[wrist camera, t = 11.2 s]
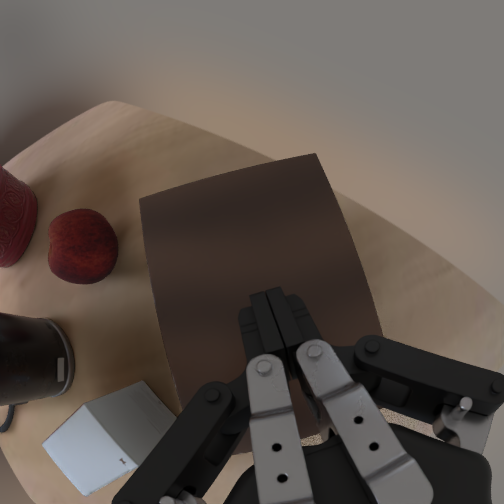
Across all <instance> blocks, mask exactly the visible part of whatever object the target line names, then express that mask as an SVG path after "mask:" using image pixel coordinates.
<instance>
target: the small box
mask: <svg viewBox="0 0 504 504" xmlns="http://www.w3.org/2000/svg"><path fill="white" fill-rule="evenodd" d="M176 419H177V417H176V416H175V415H174V414H173V413H172V412H171V411H170V410H169V409H168V408H167V407H166V406H165V405H164V404H163V403H162V402H161V400H160V399H159V398H158V397H157V396H156V395H155V394H154V392H153V391H152V390H151V389H150V388H149V387H148V385H147V384H146V383H145V382H144V381H143V380H142V381H140V382H137V383H135V384H132V385H130V386H127V387H125V388H123V389H120V390H117V391H115V392H113V393H110V394H107V395H105V396H102V397H100V398H97V399H94V400H91V401H89V402H86V403H83V404H82V405H81V406H80V407H79V408H78V409H77V410H76V411H75V412H74V413H73V414H72V415H71V416H70V417H69V418H68V419H67V420H66V421H65V422H64V423H63V424H62V425H61V426H60V427H58V428H57V429H56V430H55V431H54V432H53V433H52V434H51V435H50V436H49V437H48V438H47V439H46V440H45V441H44V442H43V443H42V445H43V447H44V448H45V450H46V451H47V453H48V454H49V455H50V457H51V458H52V459H53V460H54V462H55V463H56V464H57V466H58V467H59V468H60V469H61V470H62V472H63V473H64V474H65V475H66V476H67V478H68V479H69V480H70V481H71V482H72V483H73V484H74V486H75V487H76V488H77V489H78V490H79V491H80V492H81V493H82V494H83V495H84V496H86V497H87V496H89V495H90V494H92V493H93V492H95V491H97V490H98V489H100V488H102V487H104V486H105V485H107V484H109V483H111V482H112V481H114V480H116V479H118V478H119V477H121V476H123V475H124V474H126V473H128V472H130V471H132V470H134V469H136V468H138V467H139V466H140V465H141V464H142V462H143V461H144V460H145V459H146V457H147V456H148V455H149V454H150V452H151V451H152V450H153V449H154V447H155V446H156V445H157V444H158V442H159V441H160V440H161V438H162V437H163V436H164V435H165V433H166V432H167V431H168V429H169V428H170V427H171V425H172V424H173V423H174V422H175V420H176Z"/></svg>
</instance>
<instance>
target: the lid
mask: <svg viewBox="0 0 504 504" xmlns="http://www.w3.org/2000/svg"><path fill="white" fill-rule="evenodd" d="M139 203H140V213H141V221H142V230H143V237H144V244H145V251H146V258H147V264H148V270H149V276H150V281H151V287H152V292H153V297H154V302H155V307H156V312H157V317H158V321H159V326H160V330H161V334H162V338H163V342H164V346H165V350H166V354H167V358H168V362H169V366H170V369H171V373H172V376H173V380H174V383H175V387H176V390H177V393H178V396H179V400H180V403H181V406H182V409H183V410H184V408H185V407H186V406H187V404H188V403H189V402H190V400H191V399H192V398H193V396H194V395H195V394H196V392H197V391H198V390H199V388H200V387H202V386H203V385H204V384H206V383H209V382H213V381H219V382H223V383H225V384H227V383H229V382H231V381H233V380H235V379H236V378H238V377H239V376H240V375H241V374H242V373H243V372H244V370H245V368H246V365H247V359H246V355H245V350H244V346H243V341H242V336H241V331H240V327H239V322H238V315H239V312H240V309H242V308H245V307H249V306H252V305H251V301H250V298H249V295H251V294H254V293H258V292H262V291H264V292H265V290H268V289H272V288H275V287H279V286H280V287H281V288H282V291H283V293H284V295H285V296H288V295H291V294H296V295H297V296H299V297H300V298H301V299H302V300H303V302H304V303H305V305H306V308H307V309H308V311H309V313H310V315H311V317H312V319H313V321H314V323H315V325H316V327H317V328H318V330H319V332H320V334H321V336H322V338H323V339H324V340H325V341H326V342H327V343H329V344H331V345H334V346H353V345H355V344H356V342H357V341H358V340H359V339H360V338H362V337H364V336H366V335H378V336H381V337H383V334H382V330H381V326H380V323H379V319H378V316H377V312H376V309H375V306H374V302H373V299H372V296H371V292H370V289H369V286H368V283H367V280H366V277H365V274H364V271H363V268H362V265H361V262H360V259H359V257H358V254H357V251H356V248H355V246H354V243H353V240H352V238H351V235H350V232H349V230H348V227H347V224H346V222H345V219H344V217H343V214H342V212H341V209H340V207H339V205H338V202H337V200H336V197H335V195H334V193H333V190H332V188H331V186H330V184H329V181H328V179H327V177H326V175H325V173H324V170H323V168H322V166H321V164H320V162H319V159H318V157H317V155H316V154H315V153H313V154H308V155H303V156H298V157H293V158H288V159H283V160H278V161H274V162H269V163H265V164H260V165H256V166H252V167H248V168H243V169H239V170H235V171H232V172H228V173H224V174H220V175H216V176H213V177H209V178H205V179H202V180H198V181H195V182H191V183H188V184H185V185H181V186H178V187H175V188H171V189H168V190H165V191H162V192H159V193H156V194H152V195H149V196H146V197H143V198H141V199H139ZM265 295H266V294H265ZM289 373H290V371H289ZM290 378H291V381H288V382H289V387H290V392H291V402H292V406H293V410H294V414H295V419H296V423H297V427H298V432H299V436H300V439H303V438H306V437H310V436H313V435H316V434H319V433H320V432H319V429H318V426H317V424H316V422H315V420H314V418H313V416H312V414H311V411H310V409H309V407H308V405H307V403H306V401H305V399H304V397H303V395H302V391H301V386H300V383H299V380H298V379H295V380H292V377H291V374H290ZM376 406H377V407H378V409H381V408H384V407H381V406H379V405H376ZM247 452H252V443H251V435H250V427H248V429H247V431H246V433H245V434H244V436H243V438H242V439H241V441H240V443H239V444H238V446H237V447H236V449H235V450H234V452H233V454H232V455H236V454H241V453H247Z"/></svg>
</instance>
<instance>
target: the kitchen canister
mask: <svg viewBox="0 0 504 504" xmlns="http://www.w3.org/2000/svg"><path fill="white" fill-rule="evenodd" d="M36 217H37V200H36V197H35V194H34V193H33V191H32V190H31V189H30V187H29V186H28V185H27V184H25V183H24V182H23V181H20V180H18V179H17V178H16V177H14V176H13V175H12V174H10V173H9V172H8V171H7V170H5V169H4V168H3V167H2V166H1V164H0V267H2V268H6V267H9V266H11V265H13V264H14V263H15V262H16V261H17V260H18V259H19V258H20V257H21V255H22V254H23V252H24V251H25V249H26V247H27V245H28V243H29V241H30V239H31V236H32V233H33V230H34V227H35V222H36Z"/></svg>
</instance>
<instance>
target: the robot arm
mask: <svg viewBox="0 0 504 504" xmlns="http://www.w3.org/2000/svg"><path fill="white" fill-rule="evenodd" d="M265 294H266V295H265ZM249 298H250V301H251V305H252V306H249V307H245V308H242V309H240V312H239V315H238V322H239V327H240V331H241V336H242V341H243V346H244V350H245V355H246V359H247V365H246V368H245V370H244V372H243V373H242V374H241V375H240V376H239V377H238V378H236V379H235V380H233V381H231V382H229V383H227V384H225V383H223V382H219V381H213V382H209V383H206V384H204V385H203V386H202V387H200V388H199V390H198V391H197V392H196V394H195V395H194V396H193V398H192V399H191V400H190V402H189V403H188V404H187V406H186V407H185V408H184V410H183V411H182V412H181V414H180V415H179V416H178V418H177V419H176V420H175V422H174V423H173V424H172V425H171V427H170V428H169V429H168V431H167V432H166V433H165V435H164V436H163V437H162V438H161V440H160V441H159V442H158V444H157V445H156V446H155V447H154V449H153V450H152V451H151V452H150V454H149V455H148V456H147V457H146V459H145V460H144V461H143V462H142V464H141V465H140V466H139V467H138V469H137V470H136V471H135V472H134V474H133V475H132V476H131V477H130V478H129V480H128V481H127V482H126V483H125V484H124V486H123V487H122V488H121V489H120V490H119V492H118V493H117V494H116V495H115V496H114V498H113V500H112V504H206V502H205V501H204V500H203V499H202V498H203V496H204V495H205V493H206V492H207V491H208V489H209V488H210V486H211V485H212V483H213V482H214V481H215V479H216V478H217V476H218V475H219V473H220V472H221V470H222V469H223V467H224V466H225V464H226V463H227V461H228V460H229V458H230V457H231V455H232V454H233V452H234V450H235V449H236V447H237V446H238V444H239V443H240V441H241V439H242V438H243V436H244V434H245V433H246V431H247V429H248V427H250V435H251V443H252V451H253V459H254V465H252V466H251V467H250V468H248V469H247V470H246V471H245V472H244V473H243V474H242V475H241V476H240V478H239V479H238V480H237V482H236V484H235V485H234V487H233V489H232V490H231V492H230V494H229V495H228V497H227V498H226V500H225V502H224V503H223V504H492V500H491V480H492V472H491V468H490V465H489V463H488V461H487V460H486V458H485V457H484V456H482V453H483V450H484V447H485V444H486V441H487V438H488V434H489V431H490V427H491V424H492V420H493V416H494V413H495V411H496V410H497V409H498V408H499V407H500V406H501V405H502V404H503V403H504V375H502V374H501V373H498V372H494V371H491V370H487V369H484V368H480V367H477V366H473V365H470V364H466V363H463V362H459V361H456V360H453V359H449V358H446V357H443V356H440V355H436V354H433V353H430V352H427V351H424V350H421V349H418V348H414V347H411V346H408V345H405V344H402V343H399V342H396V341H393V340H390V339H387V338H384V337H381V336H378V335H366V336H364V337H362V338H360V339H359V340H358V341H357V342H356V344H355V345H353V346H334V345H331V344H329V343H327V342H326V341H325V340H324V339H323V338H322V336H321V334H320V332H319V330H318V328H317V327H316V325H315V323H314V321H313V319H312V317H311V315H310V313H309V311H308V309H307V308H306V305H305V303H304V302H303V300H302V299H301V298H300V297H299V296H297V295H296V294H291V295H288V296H285V295H284V293H283V291H282V288H281V287H280V286H279V287H275V288H272V289H268V290H265V292H264V291H262V292H258V293H254V294H251V295H249ZM289 371H290V373H289ZM290 374H291V377H292V380H295V379H298V380H299V383H300V386H301V391H302V395H303V397H304V399H305V401H306V403H307V405H308V407H309V409H310V411H311V414H312V416H313V418H314V420H315V422H316V424H317V426H318V429H319V432H320V435H321V438H322V440H323V443H322V444H319V445H312V446H302V445H301V440H300V436H299V432H298V427H297V423H296V419H295V414H294V410H293V406H292V402H291V392H290V387H289V382H288V381H291V378H290ZM73 377H74V357H73V352H72V348H71V345H70V343H69V340H68V338H67V336H66V335H65V333H64V331H63V330H62V329H61V328H60V327H59V326H58V325H57V324H56V323H55V322H53V321H51V320H49V319H44V318H31V317H25V316H18V315H12V314H7V313H1V312H0V406H4V405H9V411H8V415H7V418H6V421H5V422H4V424H3V425H2V426H1V427H0V432H5V431H6V430H7V429H8V428H9V426H10V424H11V422H12V419H13V415H14V408H15V405H20V404H25V403H28V401H32V400H37V399H42V398H47V397H55V396H59V395H62V394H64V393H65V392H67V390H68V389H69V388H70V386H71V384H72V381H73ZM376 405H379V406H381V407H384V408H386V409H389V410H392V411H394V412H397V413H400V414H402V415H405V416H408V417H411V418H414V419H416V420H419V421H422V422H425V423H428V424H431V425H432V428H433V432H434V434H435V435H436V437H438V438H440V439H441V440H443V441H445V442H443V441H440V440H437V439H434V438H432V437H429V436H427V435H424V434H421V433H419V432H416V431H414V430H411V429H409V428H406V427H404V426H401V425H398V424H394V423H387V421H386V420H385V418H384V417H383V415H382V413H381V412H380V410H379V409H378V407H377V406H376ZM0 448H1V447H0Z"/></svg>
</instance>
